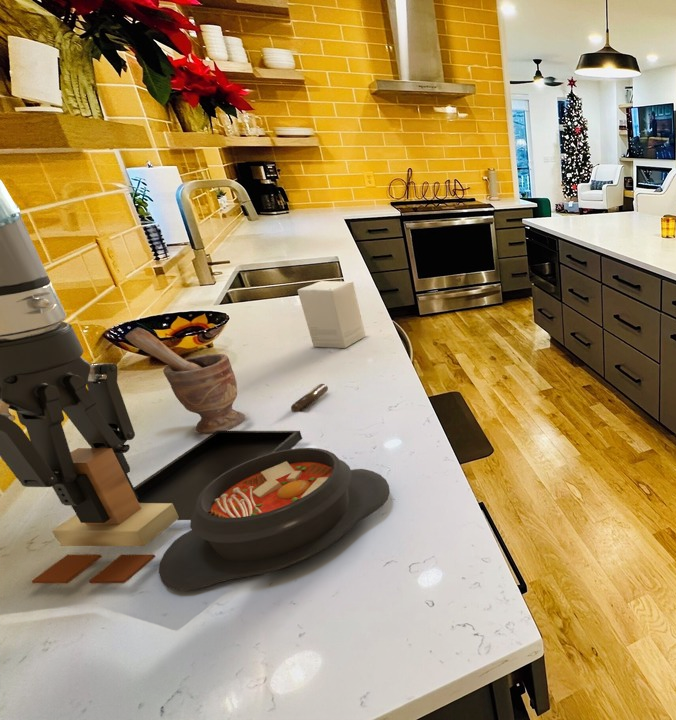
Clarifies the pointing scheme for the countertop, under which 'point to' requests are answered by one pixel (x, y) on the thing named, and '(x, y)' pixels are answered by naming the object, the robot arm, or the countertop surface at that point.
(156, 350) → the mortar and pestle
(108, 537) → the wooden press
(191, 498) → the griddle pan
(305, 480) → the casserole
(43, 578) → the plate
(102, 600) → the countertop surface
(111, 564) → the plate
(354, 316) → the rectangular carton
